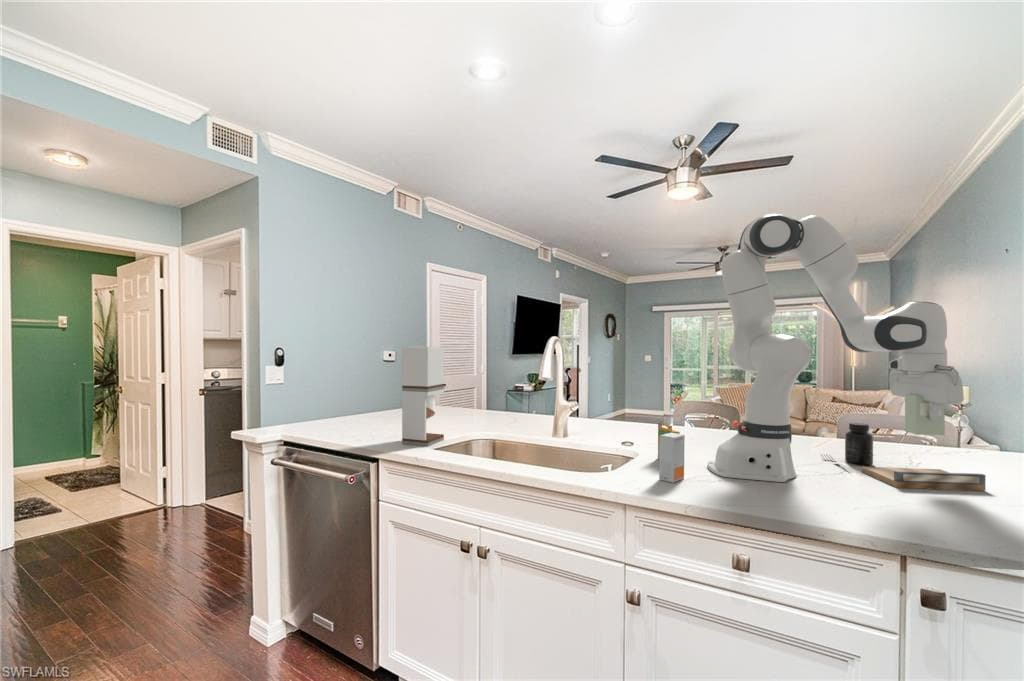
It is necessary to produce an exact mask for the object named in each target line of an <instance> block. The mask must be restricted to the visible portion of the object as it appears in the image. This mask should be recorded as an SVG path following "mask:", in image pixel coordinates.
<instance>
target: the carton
mask: <svg viewBox="0 0 1024 681" xmlns="http://www.w3.org/2000/svg"><path fill="white" fill-rule="evenodd" d="M945 405H946V404H943V407H942V409H941V410H940V412H939V419H938V420H932V419H928V418H927V412H929V411H930V408H931V406H930V405H929V401H924V400H923V399H922V396H921V395H915V394H905V397H904V432H905V433H909V434H913V435H922V436H924V435H927V436H928V435H929V436H945V435H946V434H945V433H946V430H945V429H946V428H945V427H946V426H945V425H946V424H945V418H946V417H945V415H946V413H945V408H946V406H945Z"/></svg>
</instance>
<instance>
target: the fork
mask: <svg viewBox="0 0 1024 681" xmlns="http://www.w3.org/2000/svg"><path fill="white" fill-rule="evenodd" d="M820 456H821V457H822V458H823V460H824V461H825V460H826V461H828V460H829V461H831V460H832V461H833V462H835V461H836V460H835V459H834V458H833V457H832V456H831V455H830V454H827V453H826V454H824V453H823V454H822V453H820ZM835 464H836V465H837V466H840V467H842V468H843V469H844V470H845V471H846V472H848V474H850V473H855V472H854V471H852V470H850V469H849V468H848V467H846V466H845V465H843V464H841V463H835ZM836 465H835V466H836Z"/></svg>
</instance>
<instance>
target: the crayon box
mask: <svg viewBox="0 0 1024 681" xmlns="http://www.w3.org/2000/svg"><path fill="white" fill-rule="evenodd" d="M667 433H676V434H681V433H680V431H678V430H675V429H673V426H672V425H670V424H666V423H662V422H659V421H658V422H657V459H658V460H659V451H660V435H664V434H667Z"/></svg>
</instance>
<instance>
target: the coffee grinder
mask: <svg viewBox="0 0 1024 681" xmlns="http://www.w3.org/2000/svg"><path fill="white" fill-rule="evenodd" d="M401 348H402V349H401V352H402V353H401V355H402V358H401V359H402V360H401V363H402V364H401V366H402V368H401V377H402V379H401V382H402V383H401V389H402V390H401V392H402V393H401V396H402V397H401V401H402V404H401V405H402V406H401V412H402V414H401V415H402V417H401V424H402V425H401V429H402V430H401V434H402V435H401V439H402V440H401V442H402V443H401V444H402V445H407V446H419V447H420V446H421V447H430V446H432V445H435V444H438V443H440V442H442V441H444V440H445V435H444V434H441V433H439V434H438V433H432V432H427V420H428V419H431V418H432V417H434V416H435V414H436V395H441V394H444V393H445V378H444V377H445V356H444V355H445V347H444V346H433V347H432V346H430V347H429V346H428V347H426V346H424V347H423V346H402V347H401Z"/></svg>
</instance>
